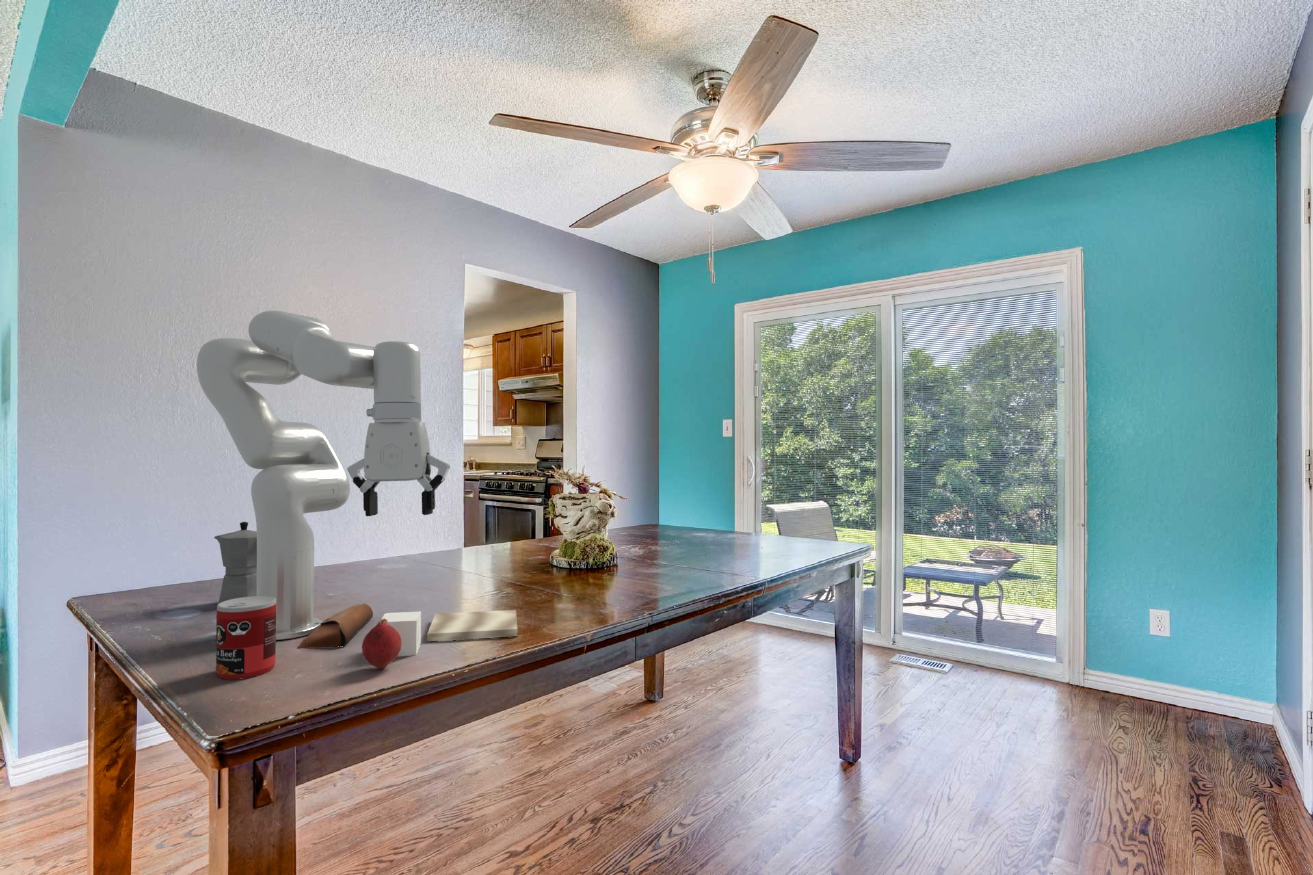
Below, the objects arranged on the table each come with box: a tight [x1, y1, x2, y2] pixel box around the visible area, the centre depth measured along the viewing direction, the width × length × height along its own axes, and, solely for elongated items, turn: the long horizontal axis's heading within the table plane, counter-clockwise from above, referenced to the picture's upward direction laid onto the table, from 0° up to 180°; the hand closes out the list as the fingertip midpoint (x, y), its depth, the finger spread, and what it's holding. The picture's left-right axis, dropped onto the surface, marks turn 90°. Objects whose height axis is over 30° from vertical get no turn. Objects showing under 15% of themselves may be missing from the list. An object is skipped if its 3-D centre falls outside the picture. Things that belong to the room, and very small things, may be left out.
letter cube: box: [381, 611, 422, 657], centre depth 114 cm, size 6×6×6 cm
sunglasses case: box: [297, 603, 374, 649], centre depth 124 cm, size 18×7×7 cm
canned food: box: [215, 596, 277, 680], centre depth 103 cm, size 8×8×11 cm
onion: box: [361, 618, 402, 670], centre depth 105 cm, size 6×6×8 cm
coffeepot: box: [213, 521, 257, 605], centre depth 145 cm, size 15×9×18 cm, turn 87°
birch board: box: [426, 609, 518, 642], centre depth 127 cm, size 16×14×2 cm
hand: (399, 514), depth 112 cm, fingers open, 9 cm apart
